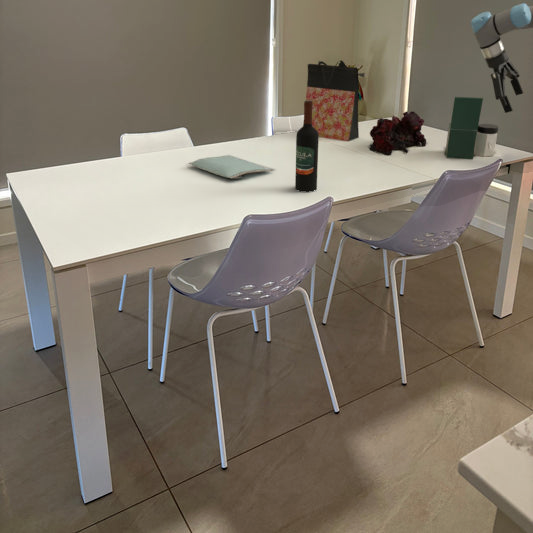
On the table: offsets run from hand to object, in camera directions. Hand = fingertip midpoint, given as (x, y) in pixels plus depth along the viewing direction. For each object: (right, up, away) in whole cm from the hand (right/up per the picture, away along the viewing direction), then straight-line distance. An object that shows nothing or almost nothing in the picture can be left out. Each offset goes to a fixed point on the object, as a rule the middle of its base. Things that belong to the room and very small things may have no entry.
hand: (514, 102), depth 230 cm
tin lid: (-17, -3, +5) cm, 18 cm away
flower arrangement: (-39, -11, +32) cm, 52 cm away
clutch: (-111, -27, -2) cm, 115 cm away
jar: (-5, -16, +21) cm, 27 cm away
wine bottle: (-83, -37, -23) cm, 94 cm away
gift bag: (-66, -2, +51) cm, 83 cm away
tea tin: (-15, -17, +20) cm, 30 cm away
